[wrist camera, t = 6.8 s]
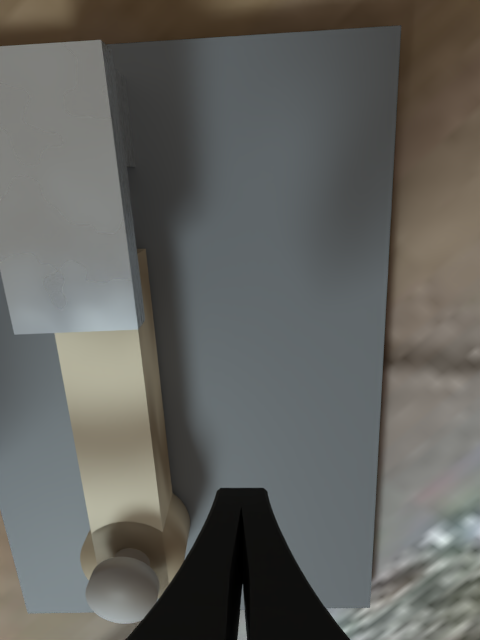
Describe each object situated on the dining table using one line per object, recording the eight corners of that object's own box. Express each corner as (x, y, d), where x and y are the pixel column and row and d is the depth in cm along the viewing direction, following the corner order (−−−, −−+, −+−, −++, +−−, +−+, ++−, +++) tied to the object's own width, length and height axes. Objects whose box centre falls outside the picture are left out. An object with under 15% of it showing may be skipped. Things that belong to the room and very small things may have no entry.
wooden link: (193, 556, 22) (181, 637, 18) (105, 558, 22) (74, 638, 18) (163, 247, 17) (138, 268, 13) (51, 252, 17) (-5, 273, 13)
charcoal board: (36, 596, 24) (28, 613, 23) (-98, 65, 16) (-119, 59, 15) (365, 590, 24) (369, 607, 23) (392, 34, 16) (401, 25, 15)
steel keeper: (162, 296, 18) (138, 329, 14) (65, 300, 18) (13, 334, 14) (138, 75, 15) (100, 39, 11) (26, 82, 15) (-49, 49, 12)
